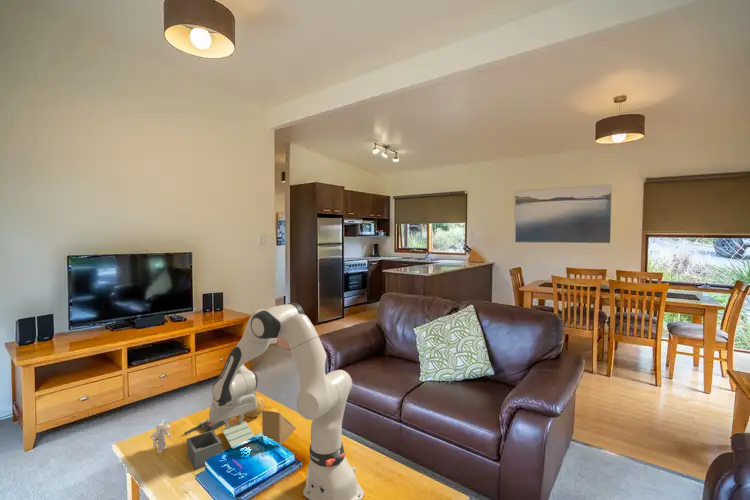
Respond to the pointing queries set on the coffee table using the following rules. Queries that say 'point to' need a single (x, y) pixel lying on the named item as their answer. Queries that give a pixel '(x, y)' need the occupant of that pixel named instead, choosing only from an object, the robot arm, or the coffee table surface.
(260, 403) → the stress ball
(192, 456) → the parts tub
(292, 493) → the coffee table surface
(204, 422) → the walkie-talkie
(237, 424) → the lid
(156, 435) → the flower shoulder figurine
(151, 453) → the coffee table surface
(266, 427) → the sandwich container
